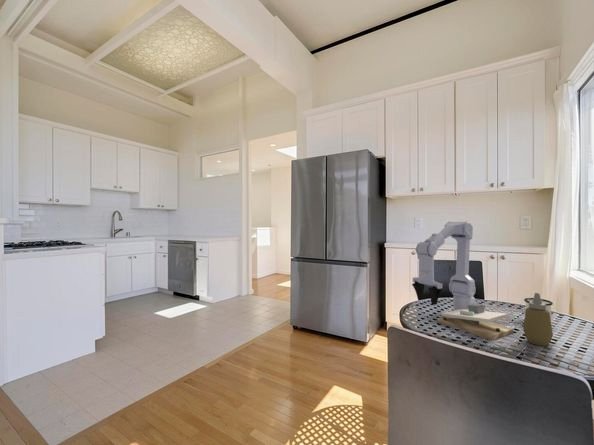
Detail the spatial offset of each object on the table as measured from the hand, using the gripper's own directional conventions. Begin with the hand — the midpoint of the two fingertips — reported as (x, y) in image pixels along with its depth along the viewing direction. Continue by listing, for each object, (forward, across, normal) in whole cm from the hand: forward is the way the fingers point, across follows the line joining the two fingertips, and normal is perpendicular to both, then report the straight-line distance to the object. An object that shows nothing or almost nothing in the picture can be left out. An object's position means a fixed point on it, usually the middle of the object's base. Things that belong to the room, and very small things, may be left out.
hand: (427, 301), depth 118 cm
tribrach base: (+10, +9, +16) cm, 21 cm away
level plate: (+5, +9, +16) cm, 19 cm away
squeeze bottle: (+10, +28, +23) cm, 38 cm away
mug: (+10, +14, +46) cm, 49 cm away
